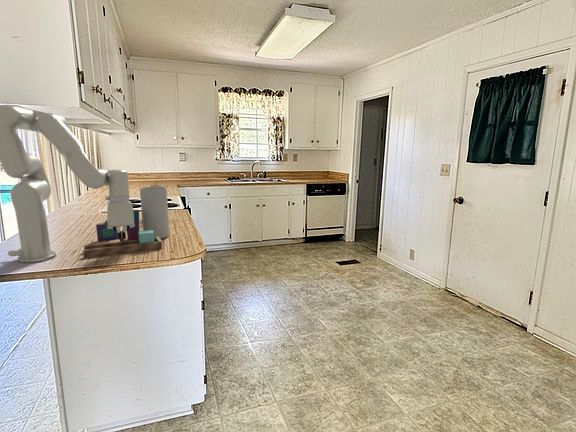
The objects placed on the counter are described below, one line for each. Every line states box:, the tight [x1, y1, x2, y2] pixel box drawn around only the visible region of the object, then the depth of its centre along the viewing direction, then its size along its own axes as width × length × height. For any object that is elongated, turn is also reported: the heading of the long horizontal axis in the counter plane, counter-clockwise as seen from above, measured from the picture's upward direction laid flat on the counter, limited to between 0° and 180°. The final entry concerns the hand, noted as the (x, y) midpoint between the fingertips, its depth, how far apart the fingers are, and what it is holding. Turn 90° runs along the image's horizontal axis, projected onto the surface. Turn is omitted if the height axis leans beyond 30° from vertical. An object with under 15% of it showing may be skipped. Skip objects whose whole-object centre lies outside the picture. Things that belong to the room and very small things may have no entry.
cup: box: [126, 209, 140, 241], centre depth 164 cm, size 7×7×15 cm
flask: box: [95, 219, 118, 242], centre depth 163 cm, size 9×3×11 cm, turn 135°
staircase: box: [149, 180, 166, 187], centre depth 213 cm, size 8×12×26 cm
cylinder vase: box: [139, 186, 170, 240], centre depth 171 cm, size 12×12×25 cm
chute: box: [82, 237, 163, 259], centre depth 147 cm, size 30×10×4 cm, turn 118°
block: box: [138, 230, 155, 244], centre depth 151 cm, size 6×5×7 cm
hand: (122, 240), depth 146 cm, fingers closed
